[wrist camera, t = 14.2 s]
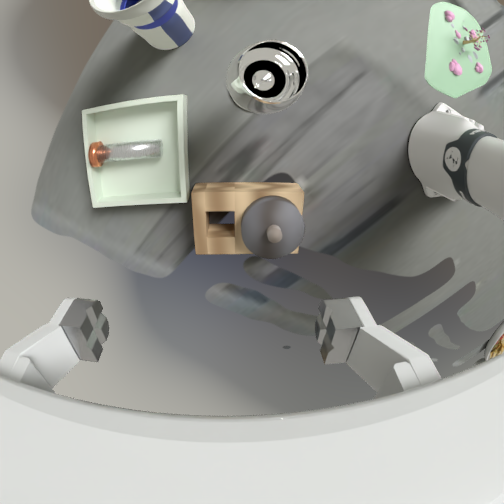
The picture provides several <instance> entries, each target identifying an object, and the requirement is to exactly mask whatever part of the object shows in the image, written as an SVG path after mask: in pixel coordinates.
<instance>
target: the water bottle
mask: <svg viewBox="0 0 504 504" xmlns="http://www.w3.org/2000/svg"><path fill="white" fill-rule="evenodd" d="M89 3H90V5H91V7H92V9H93V10H94V11H95V12H96V13H97V14H98V15H100V16H101V17H104V18H106V19H110V20H119V21H120V22H121V23H123V24H124V25H127V26H130V27H131V28H132V30H133V31H134V32H136V33H137V34H138V35H140V36H141V37H142V38H144V39H145V40H146V41H147V42H148V43H149V44H150V45H151V46H153V47H154V48H157V49H161V50H170V49H174V48H177V47H179V46H181V45H183V44H184V43H185V42H187V41H188V40H189V38H190V37H191V36H192V34H193V32H194V29H195V21H194V18H193V16H192V15H191V13H190V12H189V11H188V9H187V8H186V6H185V4H184V2H183V1H182V0H89Z"/></svg>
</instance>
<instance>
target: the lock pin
mask: <svg viewBox="0 0 504 504" xmlns="http://www.w3.org/2000/svg"><path fill="white" fill-rule="evenodd" d="M162 154H163V142H162V139H154V140H141V141H131V142H121V143H113V144H105V145H103V143H102V142H101V141H99V142H93V143H91V145H90V147H89V152H88V158H89V163H90V165H91V166H92V167H101V166H102V165H103V163H104V162H112V161H122V160H133V159H145V158H161V157H162Z"/></svg>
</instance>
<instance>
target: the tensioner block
mask: <svg viewBox="0 0 504 504" xmlns="http://www.w3.org/2000/svg"><path fill="white" fill-rule="evenodd" d="M191 197H192V213H193V227H194V239H195V250H196V254H255V255H257V256H259V257H262V258H267V259H276V258H281V257H284V256H286V255H288V254H290V253H298V248H299V245H300V243H301V241H302V239H303V237H304V233H305V224H304V220H303V217H302V211H303V201H304V192H303V190H302V189H301V188H300V186H299V185H298V184H297V183H267V182H266V183H265V182H222V183H196V184H195V186H194V188H193V190H192V192H191ZM209 211H235V224H209Z"/></svg>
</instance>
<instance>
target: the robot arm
mask: <svg viewBox="0 0 504 504" xmlns="http://www.w3.org/2000/svg"><path fill="white" fill-rule="evenodd" d="M446 111H447V112H446ZM408 153H409V161H410V165H411V167H412V170H413V172H414V174H415V175H416V177H417V178H418V179H419V180H420V182H421V183H422V186H423V189H424V192H425V194H426V196H428V197H439V196H444V197H446V198H448V199H450V200H452V201H456V200H461V199H465V200H466V201H468V202H469V203H471V204H474V205H476V206H479V207H484V208H485V209H487V210H488V211H490V212H491V213H493V214H494V215H496V216H497V217H499V218H500V219H502V220H503V221H504V140H501V139H498V138H497V137H496V136H495V135H493V134H491V133H489V132H487V131H484V126H483V125H481V124H479V123H477V122H475V121H474V120H472V119H468V118H466V117H463V116H462V115H460V114H459V113H457V112H456V111H455V110H453V109H452V108H450V107H449V106H447V105H446V104H444V103H441V102H440V103H438V104H437V105H436V106H435V107H434V109H433V110H432V112H430V113H428V114H426V115H424V116H423V117H422V118H420V119H419V120H418V122H417V123H416V124H415V126H414V128H413V130H412V132H411V135H410V139H409V146H408ZM102 309H103V307H102V305H101V303H100V301H98V300H91V299H79V298H77V299H76V298H65V299H64V300H63V302H62V303H61V305H60V306H59V308H58V309H57V311H56V312H55V314H54V316H53V317H52V319H51V320H50V322H49V324H44V325H43V326H41V327H40V328H38V329H37V330H36V331H34V332H32V333H31V334H29V335H28V336H26V337H25V338H23V339H22V340H20V341H19V342H17V343H16V344H14V345H13V346H12V347H10V348H9V349H7V350H6V351H5V353H4V355H3V356H2V358H1V360H0V504H504V353H503V354H500V355H498V356H496V357H494V358H491V359H489V360H487V361H485V362H483V363H481V364H478V365H476V366H474V367H471V368H470V369H467V370H464V371H462V372H459V373H457V374H455V375H452V376H449V377H446V378H444V379H442V378H441V377H440V375H439V373H438V372H437V369H436V368H435V366H434V364H433V362H432V361H431V359H430V357H429V356H428V354H426V353H424V352H423V351H421V350H420V349H418V348H416V347H415V346H413V345H412V344H410V343H409V342H407V341H405V340H403V339H402V338H401V337H399V336H397V335H396V334H394V333H393V332H391V331H389V330H388V329H386V328H385V327H383V326H381V325H377V324H376V323H375V321H374V319H373V317H372V315H371V314H370V312H369V310H368V308H367V307H366V305H365V303H364V301H363V300H362V298H361V297H348V298H339V299H324V300H321V301H320V303H319V308H318V309H319V311H320V314H319V315H318V316H317V317H316V322H315V334H316V339H317V342H318V343H320V344H321V345H322V347H321V350H320V352H321V355H322V358H323V361H324V364H325V365H326V364H336V363H345V362H346V364H347V365H348V366H349V367H350V368H352V369H353V370H354V371H355V372H356V373H357V374H358V375H359V376H360V377H361V378H362V379H364V381H366V382H367V383H368V384H369V385H370V386H371V387H372V388H373V389H374V390H375V391H377V394H376V396H375V397H374V398H373V399H372V400H367V401H362V402H358V403H353V404H348V405H342V406H336V407H330V408H324V409H317V410H309V411H302V412H292V413H281V414H268V415H249V416H199V415H180V414H166V413H156V412H147V411H139V410H132V409H125V408H119V407H112V406H107V405H102V404H97V403H92V402H87V401H83V400H78V399H74V398H70V397H66V396H63V395H59V394H56V393H55V392H54V391H53V390H52V388H53V387H54V386H55V385H56V384H57V383H58V382H59V381H60V380H61V379H62V378H63V377H64V376H65V375H66V374H67V373H68V372H69V371H70V370H71V369H72V368H73V367H74V366H75V365H77V364H78V363H79V362H80V360H85V361H93V362H98V361H99V358H100V355H101V353H102V350H103V348H102V345H101V344H103V343H104V342H105V341H106V340H107V337H108V334H109V325H108V321H107V318H106V317H105V316H104V315H103V314H102V313H101V312H102Z"/></svg>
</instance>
